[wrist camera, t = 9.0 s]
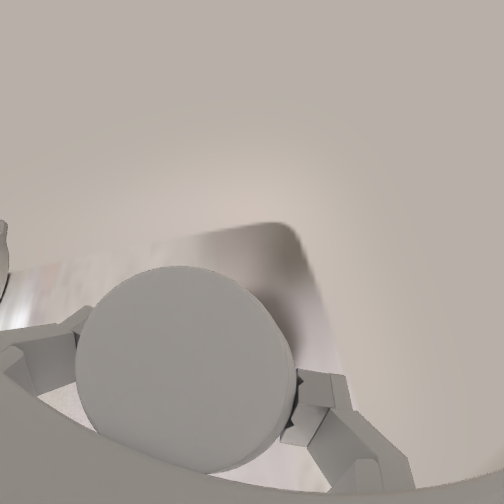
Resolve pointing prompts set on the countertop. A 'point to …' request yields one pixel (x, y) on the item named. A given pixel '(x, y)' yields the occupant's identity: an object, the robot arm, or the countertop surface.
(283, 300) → the countertop surface
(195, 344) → the pill bottle
